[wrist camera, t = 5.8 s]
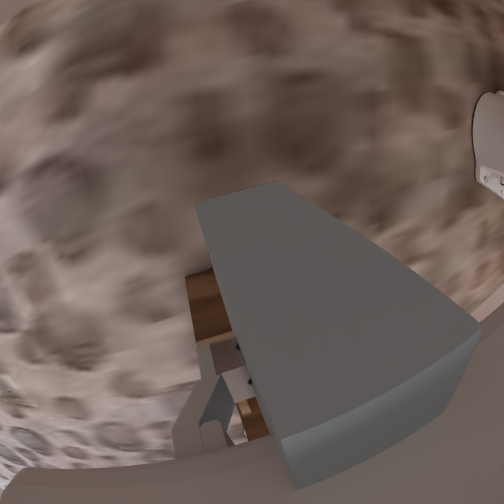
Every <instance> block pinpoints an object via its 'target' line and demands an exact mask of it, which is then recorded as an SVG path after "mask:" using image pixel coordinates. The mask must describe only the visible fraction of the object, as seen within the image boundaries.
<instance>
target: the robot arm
mask: <svg viewBox="0 0 504 504" xmlns="http://www.w3.org/2000/svg"><path fill="white" fill-rule="evenodd" d="M473 145H474V152H475V158H476V173H475V176H476V181H477V182H478V183H480V184H481V185H483V186H484V187H486V188H487V189H488V190H490V191H491V192H493V193H494V194H496V195H497V196H498V197H500V198H501V199H503V200H504V91H501V90H499V91H498V92H497V93H490V92H488V93H485V94H483V95H482V96H481V98H480V99H479V101H478V104H477V106H476V110H475V114H474V121H473ZM480 323H481V324H482V325H483V326H484V328H483V331H482V333H481V336H480V338H479V341H478V343H477V346H476V348H475V350H474V353H473V355H472V357H471V359H470V362H469V364H468V366H467V368H466V370H465V372H464V374H463V376H462V378H461V380H460V382H459V384H458V386H457V388H456V390H455V392H454V394H453V396H452V398H451V399H450V401H449V403H448V405H447V407H446V408H445V410H444V412H443V413H442V414H441V415H439V416H438V417H437V418H435V419H434V420H432V421H431V422H429V423H428V424H427V425H425V426H424V427H422V428H421V429H419V430H418V431H416V432H414V433H413V434H411V435H410V436H408V437H407V438H405V439H403V440H402V441H400V442H398V443H397V444H395V445H393V446H392V447H390V448H388V449H386V450H385V451H383V452H381V453H379V454H377V455H376V456H374V457H372V458H370V459H368V460H366V461H364V462H362V463H360V464H358V465H356V466H354V467H352V468H350V469H348V470H345V471H343V472H341V473H339V474H337V475H334V476H332V477H330V478H327V479H325V480H323V481H320V482H318V483H315V484H313V485H310V486H307V487H305V488H302V489H299V490H296V487H295V485H294V483H293V481H292V478H291V476H290V473H289V471H288V469H287V466H286V464H285V462H284V459H283V457H282V454H281V452H280V450H279V447H278V445H277V442H276V440H275V437H274V435H273V434H271V435H268V436H265V437H262V438H258V439H255V440H252V441H249V442H245V443H242V444H238V445H234V443H233V442H232V440H231V438H230V437H229V435H228V433H227V432H226V431H227V428H228V425H229V422H230V419H231V416H232V413H233V410H234V407H235V403H237V402H240V401H243V400H246V399H249V398H252V397H255V396H256V393H255V390H254V387H253V384H252V381H251V379H250V375H249V372H248V369H247V366H246V363H245V361H244V358H243V355H242V352H241V350H240V347H239V344H238V341H237V338H236V336H232V337H229V338H225V339H222V340H218V341H215V342H211V343H208V344H205V345H201V346H197V347H196V352H197V358H198V363H199V368H200V374H201V380H198V381H197V383H196V385H195V387H194V389H193V390H192V392H191V394H190V396H189V398H188V400H187V402H186V404H185V405H184V407H183V409H182V411H181V413H180V415H179V417H178V418H177V420H176V422H175V424H174V426H173V428H172V436H173V444H174V452H175V459H173V460H167V461H161V462H155V463H148V464H140V465H132V466H122V467H110V468H92V469H46V468H33V467H27V468H23V469H21V470H20V471H19V472H18V473H17V474H16V476H15V477H14V478H13V479H12V480H11V482H10V483H9V484H8V486H7V487H6V488H5V489H4V491H3V493H2V495H1V498H0V504H504V303H503V304H502V305H500V306H499V307H498V308H497V309H496V310H494V311H493V312H492V313H491V314H490V315H489V316H487V317H486V318H485V319H484V320H482V321H481V322H480Z"/></svg>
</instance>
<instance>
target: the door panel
mask: <svg viewBox="0 0 504 504" xmlns="http://www.w3.org/2000/svg"><path fill="white" fill-rule="evenodd" d="M195 207H196V211H197V215H198V218H199V222H200V225H201V229H202V232H203V236H204V239H205V243H206V246H207V250H208V253H209V256H210V260H211V263H212V266H213V270H214V273H215V276H216V280H217V283H218V286H219V289H220V293H221V296H222V299H223V302H224V305H225V309H226V312H227V315H228V318H229V321H230V324H231V327H232V330H233V333H234V336H236V338H237V341H238V344H239V347H240V350H241V352H242V355H243V358H244V361H245V363H246V366H247V369H248V372H249V375H250V379H251V381H252V384H253V387H254V390H255V393H256V399H257V401H258V404H259V407H260V409H261V412H262V415H263V417H264V420H265V422H266V425H267V428H268V430H269V433H270V435H271V434H273V435H274V437H275V440H276V442H277V445H278V447H279V450H280V452H281V454H282V457H283V459H284V462H285V464H286V466H287V469H288V471H289V473H290V476H291V478H292V481H293V483H294V485H295V487H296V490H299V489H302V488H305V487H307V486H310V485H313V484H315V483H318V482H320V481H323V480H325V479H327V478H330V477H332V476H334V475H337V474H339V473H341V472H343V471H345V470H348V469H350V468H352V467H354V466H356V465H358V464H360V463H362V462H364V461H366V460H368V459H370V458H372V457H374V456H376V455H377V454H379V453H381V452H383V451H385V450H386V449H388V448H390V447H392V446H393V445H395V444H397V443H398V442H400V441H402V440H403V439H405V438H407V437H408V436H410V435H411V434H413V433H414V432H416V431H418V430H419V429H421V428H422V427H424V426H425V425H427V424H428V423H429V422H431V421H432V420H434V419H435V418H437V417H438V416H439V415H441V414H442V413H443V412H444V410H445V408H446V407H447V405H448V403H449V401H450V399H451V398H452V396H453V394H454V392H455V390H456V388H457V386H458V384H459V382H460V380H461V378H462V376H463V374H464V372H465V370H466V368H467V366H468V364H469V362H470V359H471V357H472V355H473V353H474V350H475V348H476V346H477V343H478V341H479V338H480V336H481V333H482V331H483V328H484V326H483V325H482V324H481V323H479V322H478V321H477V320H476V319H475V318H473V317H472V316H471V315H470V314H469V313H467V312H466V311H465V310H464V309H462V308H461V307H460V306H459V305H457V304H456V303H455V302H454V301H452V300H451V299H450V298H449V297H447V296H446V295H445V294H443V293H442V292H441V291H440V290H438V289H437V288H436V287H434V286H433V285H432V284H430V283H429V282H428V281H426V280H425V279H424V278H422V277H421V276H420V275H418V274H417V273H416V272H414V271H413V270H411V269H410V268H409V267H407V266H406V265H405V264H403V263H402V262H400V261H399V260H398V259H396V258H395V257H393V256H392V255H391V254H389V253H388V252H386V251H385V250H383V249H382V248H381V247H379V246H378V245H376V244H375V243H373V242H372V241H370V240H369V239H367V238H366V237H364V236H363V235H361V234H360V233H358V232H357V231H355V230H354V229H352V228H351V227H349V226H348V225H346V224H345V223H343V222H342V221H340V220H339V219H337V218H336V217H334V216H332V215H331V214H329V213H328V212H326V211H325V210H323V209H321V208H320V207H318V206H317V205H315V204H313V203H312V202H310V201H308V200H307V199H305V198H304V197H302V196H300V195H299V194H297V193H295V192H294V191H292V190H290V189H289V188H287V187H285V186H284V185H282V184H280V183H279V182H277V181H276V182H272V183H268V184H264V185H260V186H256V187H252V188H248V189H245V190H241V191H237V192H234V193H230V194H226V195H223V196H219V197H215V198H212V199H208V200H205V201H201V202H198V203H195Z"/></svg>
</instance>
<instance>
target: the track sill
mask: <svg viewBox="0 0 504 504" xmlns="http://www.w3.org/2000/svg"><path fill="white" fill-rule="evenodd" d="M185 279H186V286H187V292H188V299H189V305H190V311H191V317H192V322H193V328H194V334H195V339H196V343H197V345H198V346H201V345H205V344H208V343H211V342H215V341H218V340H222V339H225V338H229V337H232V336H234V333H233V330H232V327H231V324H230V321H229V318H228V315H227V312H226V309H225V305H224V302H223V299H222V296H221V293H220V289H219V286H218V283H217V280H216V276H215V273H214V270H213V269H210V270H206V271H203V272H200V273H197V274H194V275H190V276H187V277H185ZM236 405H237V408H238V411H239V414H240V417H241V420H242V424H243V427H244V430H245V433H246V436H247V439H248V442H249V441H252V440H255V439H258V438H262V437H265V436H268V435H270V433H269V430H268V428H267V425H266V422H265V420H264V417H263V415H262V412H261V409H260V407H259V404H258V401H257V399H256V396H255V397H252V398H249V399H246V400H243V401H240V402H237V403H236Z"/></svg>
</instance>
